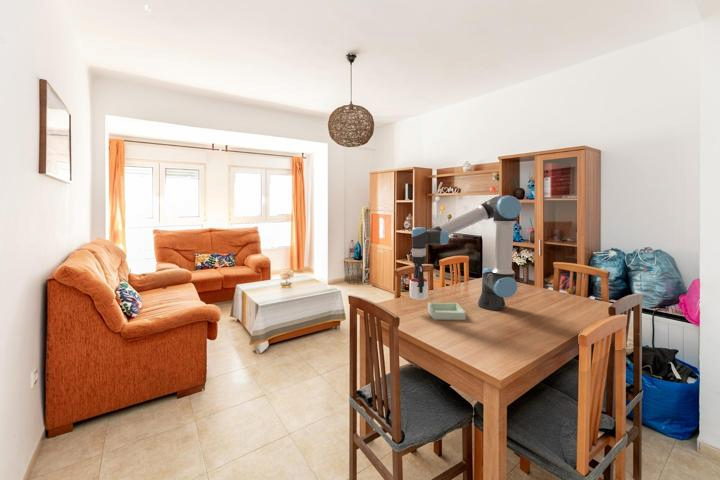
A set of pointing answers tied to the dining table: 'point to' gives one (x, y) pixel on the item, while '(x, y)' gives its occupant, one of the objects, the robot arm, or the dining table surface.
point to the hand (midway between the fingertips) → (418, 295)
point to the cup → (415, 289)
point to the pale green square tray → (446, 311)
